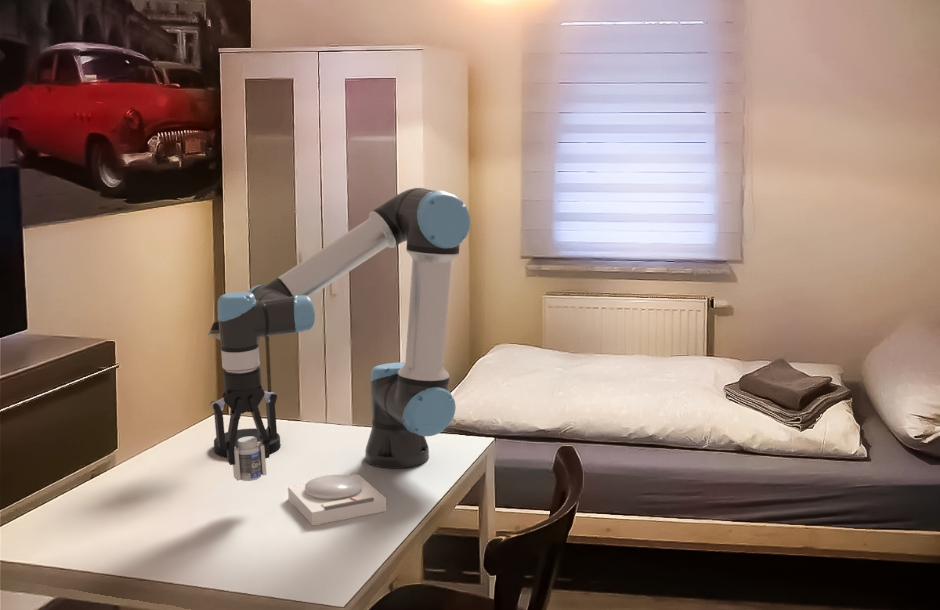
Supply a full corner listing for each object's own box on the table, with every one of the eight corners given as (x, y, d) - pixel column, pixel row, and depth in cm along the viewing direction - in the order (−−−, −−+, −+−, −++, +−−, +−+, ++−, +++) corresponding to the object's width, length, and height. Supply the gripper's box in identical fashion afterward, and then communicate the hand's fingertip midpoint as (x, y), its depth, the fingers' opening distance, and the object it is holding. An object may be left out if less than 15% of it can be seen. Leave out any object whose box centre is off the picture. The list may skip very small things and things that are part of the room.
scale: (358, 486, 231) (357, 469, 230) (386, 511, 217) (385, 492, 216) (288, 499, 224) (287, 481, 223) (312, 525, 210) (312, 506, 209)
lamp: (198, 456, 250) (188, 299, 243) (244, 429, 271) (237, 283, 263) (257, 463, 245) (250, 303, 238) (300, 435, 266) (294, 287, 258)
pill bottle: (256, 482, 215) (253, 443, 213) (235, 481, 216) (231, 442, 214) (265, 473, 219) (262, 435, 218) (244, 472, 220) (241, 435, 219)
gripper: (278, 357, 220) (285, 462, 225) (193, 370, 212) (203, 478, 217) (289, 365, 213) (296, 473, 218) (202, 379, 205) (212, 490, 210)
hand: (250, 475), depth 218 cm, fingers closed on pill bottle, 5 cm apart
